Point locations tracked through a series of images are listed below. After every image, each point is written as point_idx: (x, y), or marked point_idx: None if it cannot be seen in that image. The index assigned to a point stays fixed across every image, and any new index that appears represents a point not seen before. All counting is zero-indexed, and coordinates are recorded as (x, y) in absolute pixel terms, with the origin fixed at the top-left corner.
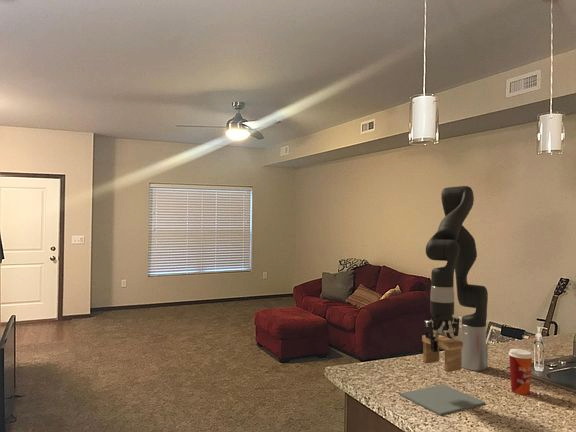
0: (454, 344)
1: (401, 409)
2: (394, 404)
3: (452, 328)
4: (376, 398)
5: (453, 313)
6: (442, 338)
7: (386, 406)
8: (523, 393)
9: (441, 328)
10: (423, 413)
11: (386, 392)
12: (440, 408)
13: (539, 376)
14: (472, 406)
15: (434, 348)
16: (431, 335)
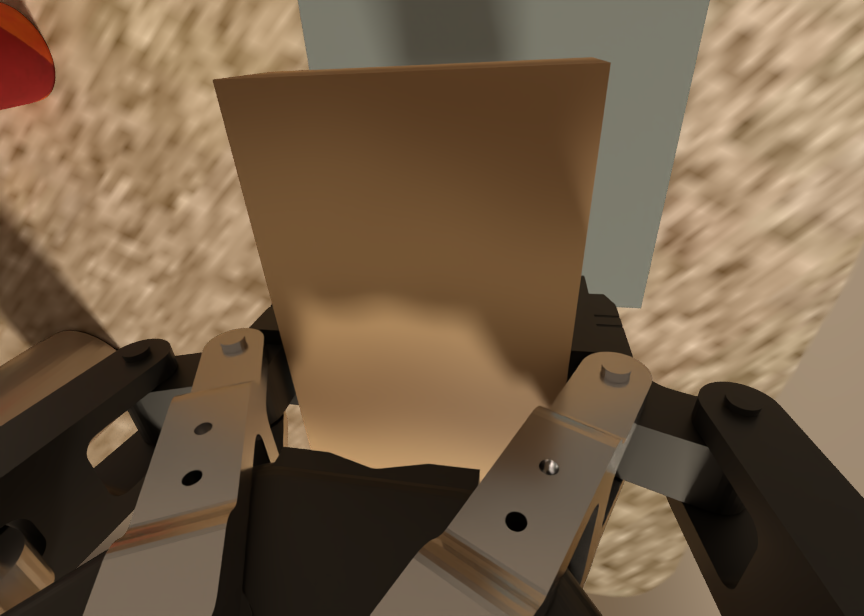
0: (450, 67)
1: (824, 154)
2: (783, 228)
3: (161, 438)
4: (783, 326)
5: None
6: (400, 392)
7: (851, 227)
8: (6, 7)
9: (507, 516)
10: (771, 40)
11: (664, 354)
12: (634, 32)
13: None
14: None
15: (600, 309)
16: (790, 447)
